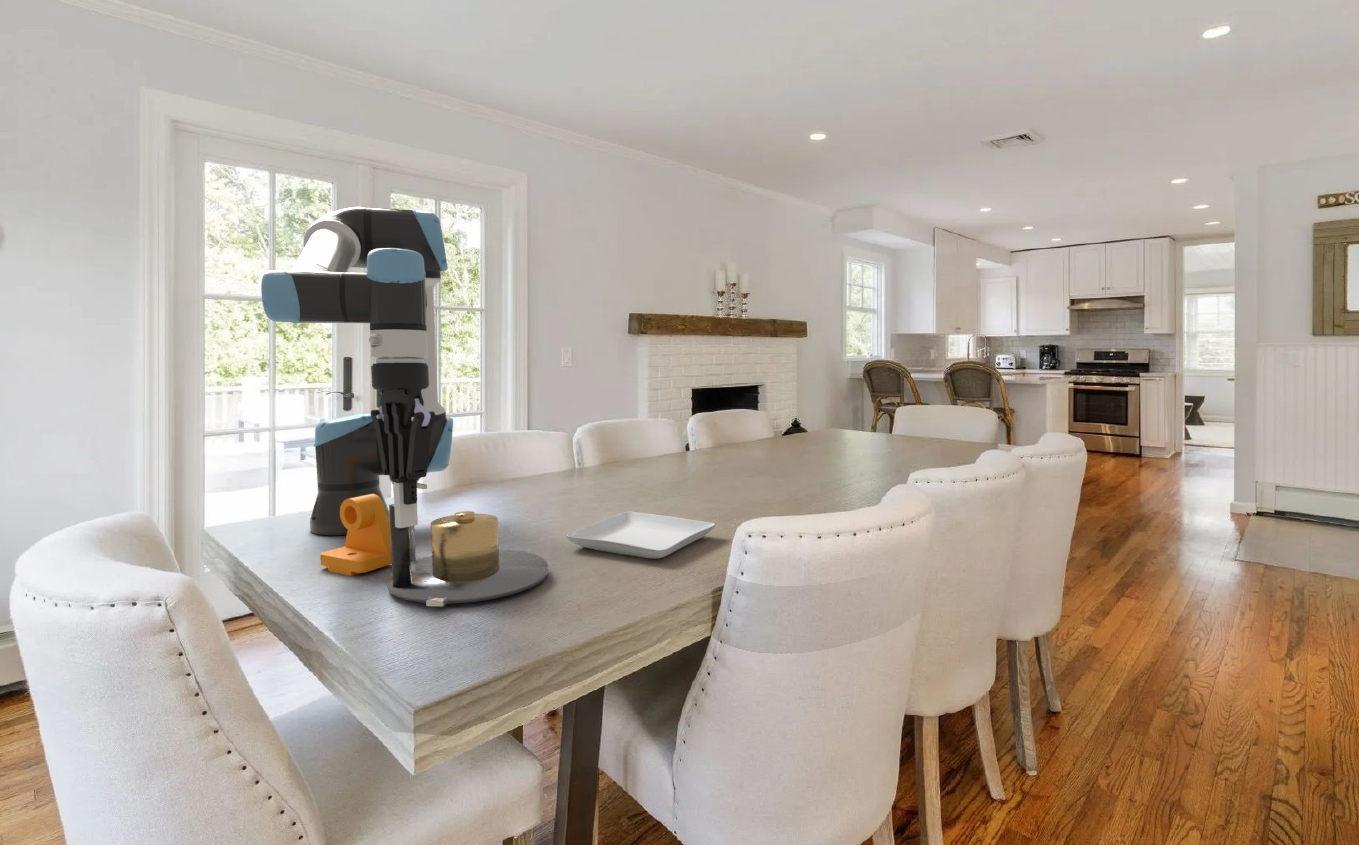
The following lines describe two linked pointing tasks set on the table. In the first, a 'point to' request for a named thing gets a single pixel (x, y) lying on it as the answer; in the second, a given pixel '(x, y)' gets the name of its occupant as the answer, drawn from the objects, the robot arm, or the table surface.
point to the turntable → (423, 587)
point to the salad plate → (640, 534)
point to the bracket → (361, 537)
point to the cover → (465, 546)
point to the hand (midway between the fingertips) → (406, 525)
